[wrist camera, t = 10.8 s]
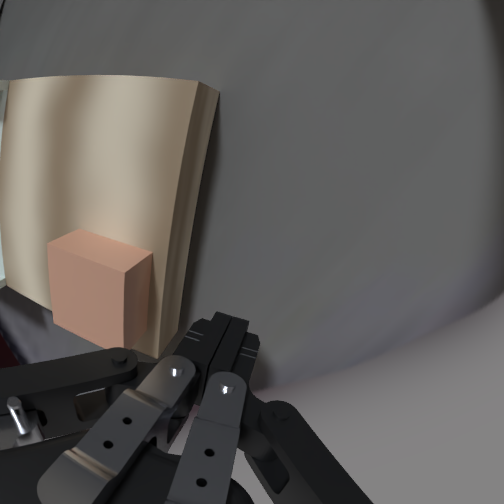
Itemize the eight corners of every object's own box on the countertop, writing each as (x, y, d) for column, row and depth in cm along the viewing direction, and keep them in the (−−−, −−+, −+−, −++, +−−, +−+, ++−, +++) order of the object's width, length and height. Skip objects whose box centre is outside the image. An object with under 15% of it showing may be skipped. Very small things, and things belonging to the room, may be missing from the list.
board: (219, 91, 14) (198, 81, 11) (177, 330, 19) (157, 358, 16) (41, 82, 15) (9, 80, 13) (32, 270, 20) (6, 285, 18)
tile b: (152, 252, 14) (124, 272, 12) (146, 329, 16) (123, 356, 14) (79, 228, 15) (47, 243, 12) (80, 302, 16) (53, 323, 14)
